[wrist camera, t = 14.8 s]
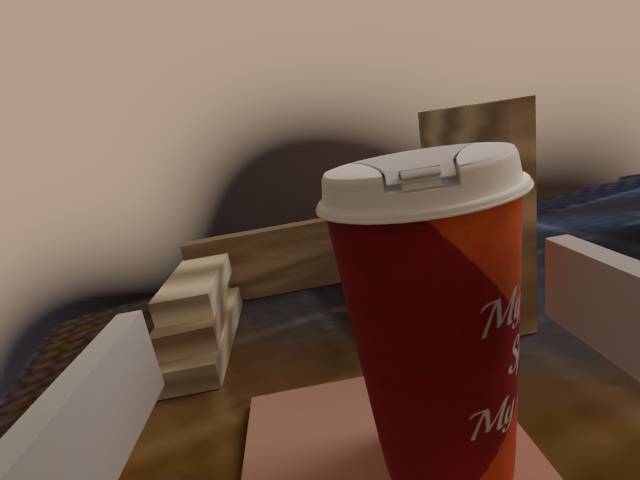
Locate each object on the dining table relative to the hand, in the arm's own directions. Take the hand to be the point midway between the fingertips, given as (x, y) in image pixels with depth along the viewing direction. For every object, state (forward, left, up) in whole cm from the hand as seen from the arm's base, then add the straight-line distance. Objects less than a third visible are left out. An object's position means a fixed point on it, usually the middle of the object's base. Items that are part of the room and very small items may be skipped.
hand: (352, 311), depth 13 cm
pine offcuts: (+23, 0, -10) cm, 25 cm away
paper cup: (+1, -5, -10) cm, 11 cm away
